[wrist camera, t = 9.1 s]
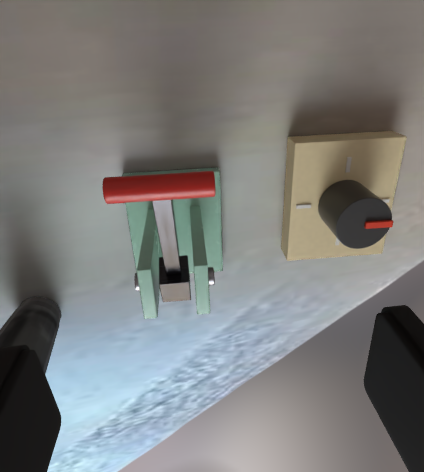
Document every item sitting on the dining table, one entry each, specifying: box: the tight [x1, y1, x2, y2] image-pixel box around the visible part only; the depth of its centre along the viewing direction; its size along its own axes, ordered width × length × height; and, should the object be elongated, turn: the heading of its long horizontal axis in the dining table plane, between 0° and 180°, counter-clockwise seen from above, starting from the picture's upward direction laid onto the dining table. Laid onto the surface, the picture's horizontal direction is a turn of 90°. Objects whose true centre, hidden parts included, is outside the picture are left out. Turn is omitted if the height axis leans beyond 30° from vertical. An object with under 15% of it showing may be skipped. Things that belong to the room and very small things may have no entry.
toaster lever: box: [103, 171, 216, 302], centre depth 24 cm, size 12×6×2 cm, turn 2°
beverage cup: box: [0, 297, 61, 374], centre depth 32 cm, size 7×7×20 cm
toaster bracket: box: [122, 168, 223, 319], centre depth 32 cm, size 11×9×12 cm
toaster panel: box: [281, 131, 407, 261], centre depth 36 cm, size 12×10×3 cm
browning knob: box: [318, 180, 393, 249], centre depth 33 cm, size 5×5×5 cm
